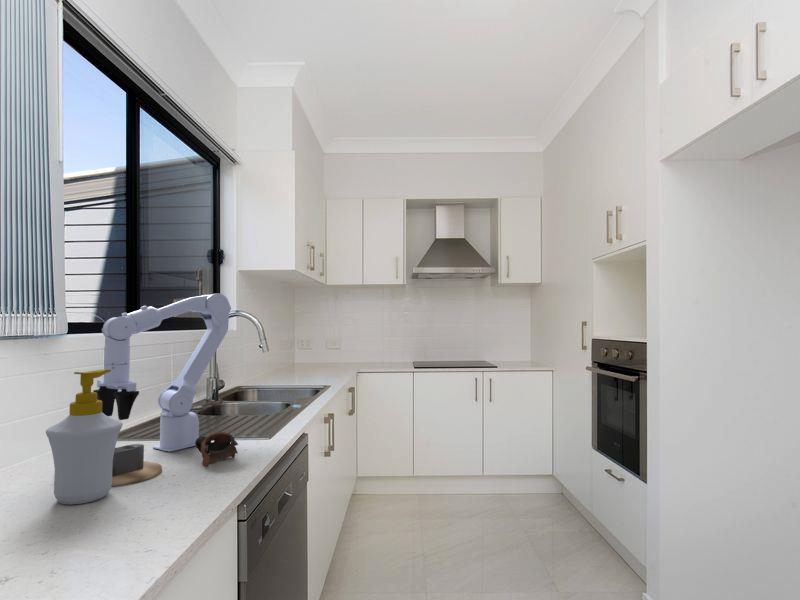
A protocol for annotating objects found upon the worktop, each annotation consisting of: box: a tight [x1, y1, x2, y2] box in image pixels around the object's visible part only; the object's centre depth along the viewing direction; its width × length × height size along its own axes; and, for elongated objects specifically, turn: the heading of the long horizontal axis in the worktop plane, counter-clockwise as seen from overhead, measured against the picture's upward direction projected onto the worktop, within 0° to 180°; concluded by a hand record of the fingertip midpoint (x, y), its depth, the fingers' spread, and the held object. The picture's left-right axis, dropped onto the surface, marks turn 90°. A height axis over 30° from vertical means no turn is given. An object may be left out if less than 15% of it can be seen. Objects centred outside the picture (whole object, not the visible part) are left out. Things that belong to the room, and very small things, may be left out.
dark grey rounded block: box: [112, 443, 145, 477], centre depth 109 cm, size 12×4×5 cm, turn 148°
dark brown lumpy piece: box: [195, 431, 239, 469], centre depth 119 cm, size 12×10×8 cm
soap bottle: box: [45, 368, 123, 505], centre depth 96 cm, size 13×13×25 cm
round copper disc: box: [111, 460, 163, 487], centre depth 110 cm, size 16×16×1 cm
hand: (115, 417), depth 124 cm, fingers open, 7 cm apart
